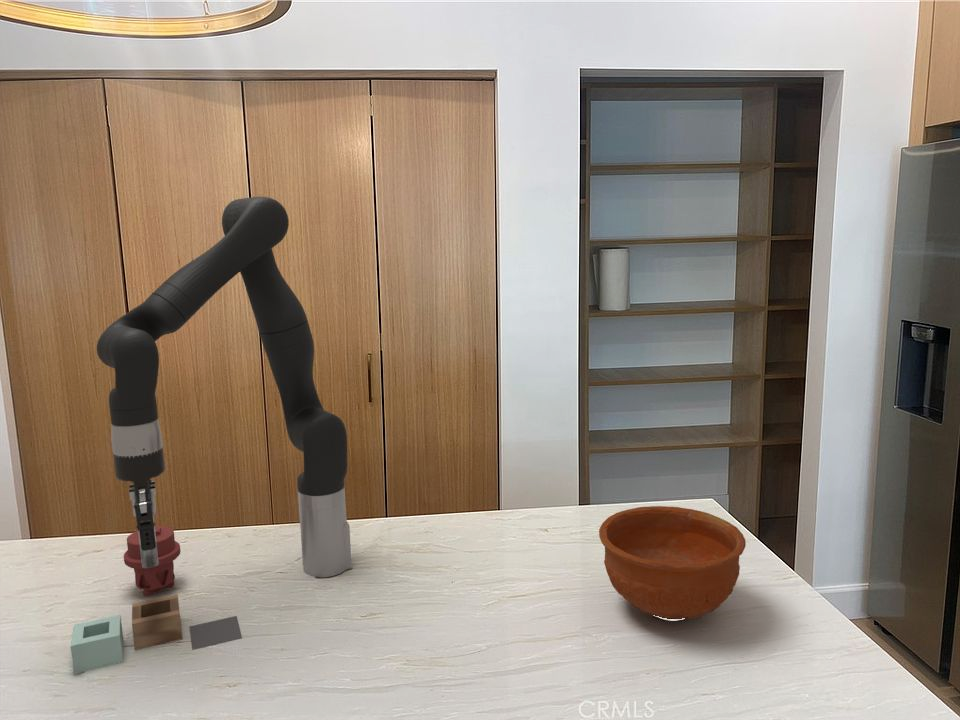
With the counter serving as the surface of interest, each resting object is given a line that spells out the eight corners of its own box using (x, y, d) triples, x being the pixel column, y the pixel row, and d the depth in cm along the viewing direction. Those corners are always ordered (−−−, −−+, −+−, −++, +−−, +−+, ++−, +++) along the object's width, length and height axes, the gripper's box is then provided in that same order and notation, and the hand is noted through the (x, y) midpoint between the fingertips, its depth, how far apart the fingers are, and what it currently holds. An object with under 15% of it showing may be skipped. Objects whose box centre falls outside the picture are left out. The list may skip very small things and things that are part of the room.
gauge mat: (236, 617, 134) (236, 615, 134) (242, 639, 127) (242, 638, 127) (189, 627, 131) (189, 626, 131) (192, 651, 124) (192, 649, 124)
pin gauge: (158, 560, 128) (152, 499, 126) (159, 566, 125) (152, 505, 123) (141, 563, 127) (134, 502, 125) (141, 569, 124) (134, 508, 122)
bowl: (772, 620, 130) (777, 540, 127) (667, 666, 117) (670, 578, 114) (668, 565, 150) (671, 495, 148) (570, 599, 138) (571, 523, 135)
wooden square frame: (180, 619, 134) (177, 594, 133) (182, 640, 127) (179, 613, 126) (135, 629, 131) (132, 603, 130) (135, 651, 124) (131, 624, 123)
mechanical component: (194, 578, 149) (163, 604, 139) (149, 574, 151) (116, 599, 141) (188, 520, 146) (157, 542, 137) (143, 517, 148) (109, 538, 139)
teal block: (123, 641, 127) (120, 614, 126) (122, 663, 121) (119, 635, 120) (77, 651, 124) (73, 624, 123) (74, 674, 118) (70, 646, 117)
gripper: (163, 456, 117) (174, 557, 121) (161, 433, 130) (171, 526, 133) (111, 463, 114) (123, 567, 118) (113, 439, 127) (124, 534, 130)
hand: (148, 544), depth 126 cm, fingers closed on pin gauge, 2 cm apart
